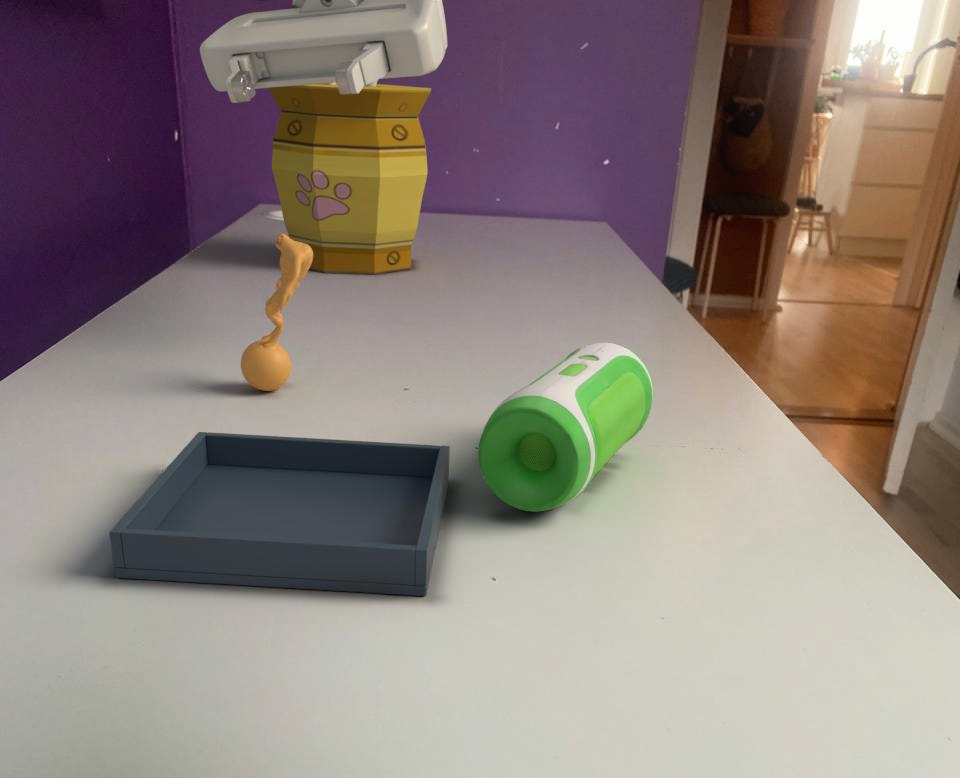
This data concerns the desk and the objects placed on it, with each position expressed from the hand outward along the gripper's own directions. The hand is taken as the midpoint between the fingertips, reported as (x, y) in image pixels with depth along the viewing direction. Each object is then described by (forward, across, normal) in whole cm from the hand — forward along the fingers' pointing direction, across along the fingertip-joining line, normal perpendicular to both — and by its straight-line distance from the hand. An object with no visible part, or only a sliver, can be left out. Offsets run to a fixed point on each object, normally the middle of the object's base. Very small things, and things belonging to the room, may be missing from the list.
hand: (289, 88), depth 80 cm
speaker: (+25, +25, +16) cm, 39 cm away
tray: (+38, +13, +9) cm, 41 cm away
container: (-38, -18, +37) cm, 56 cm away
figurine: (+15, -1, +17) cm, 23 cm away
